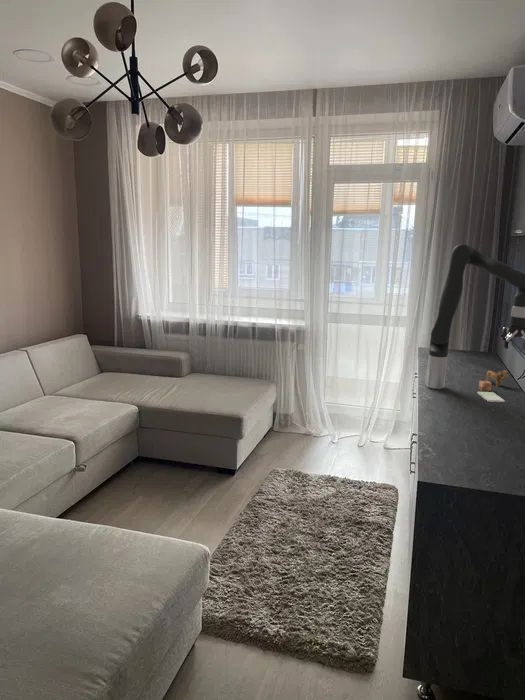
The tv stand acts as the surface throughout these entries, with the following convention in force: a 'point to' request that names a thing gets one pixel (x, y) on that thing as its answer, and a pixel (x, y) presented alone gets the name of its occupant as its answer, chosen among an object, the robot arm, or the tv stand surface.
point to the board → (491, 397)
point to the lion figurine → (497, 376)
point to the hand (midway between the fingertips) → (515, 348)
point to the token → (485, 386)
